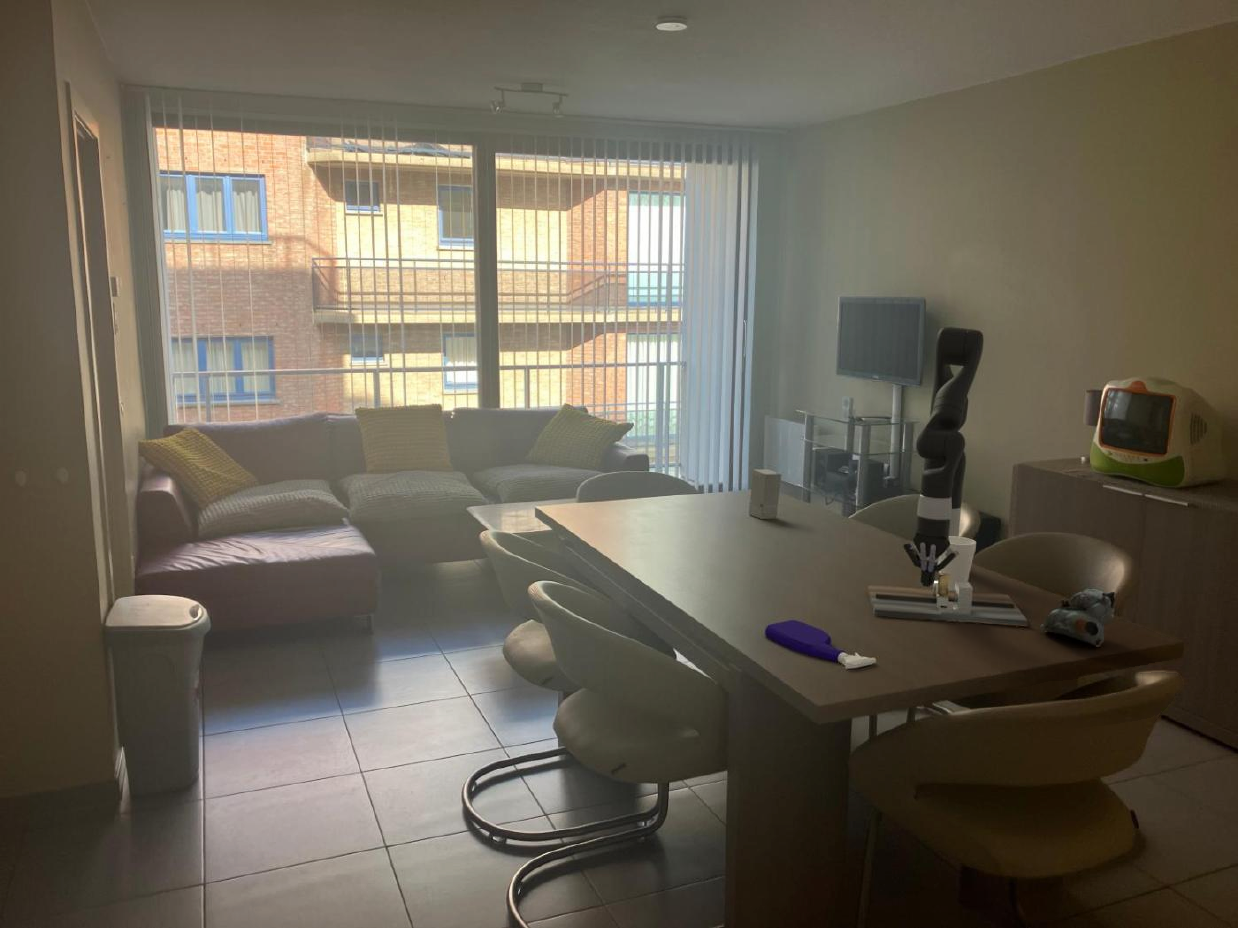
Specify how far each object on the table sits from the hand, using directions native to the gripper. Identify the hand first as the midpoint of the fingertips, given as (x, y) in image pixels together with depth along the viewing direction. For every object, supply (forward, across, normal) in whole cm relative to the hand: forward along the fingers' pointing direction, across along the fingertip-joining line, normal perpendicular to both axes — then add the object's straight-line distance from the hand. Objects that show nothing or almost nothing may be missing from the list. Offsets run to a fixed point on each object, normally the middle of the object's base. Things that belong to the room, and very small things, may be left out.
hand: (927, 585), depth 235 cm
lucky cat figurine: (+6, +33, +4) cm, 33 cm away
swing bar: (+4, +2, +6) cm, 7 cm away
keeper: (+5, +6, +1) cm, 8 cm away
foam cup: (+7, -2, +24) cm, 25 cm away
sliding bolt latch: (+7, +2, +7) cm, 10 cm away
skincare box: (+9, -81, +68) cm, 107 cm away
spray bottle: (+7, -8, -41) cm, 42 cm away
